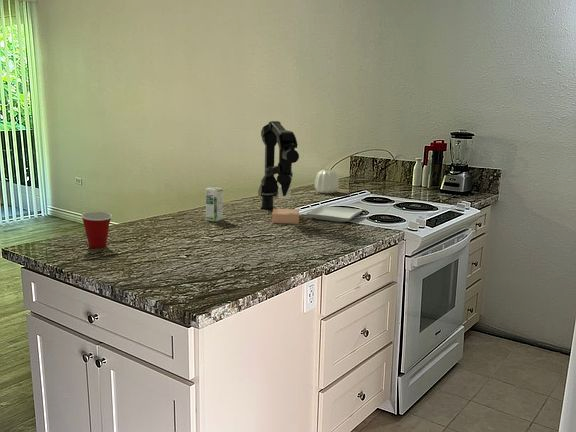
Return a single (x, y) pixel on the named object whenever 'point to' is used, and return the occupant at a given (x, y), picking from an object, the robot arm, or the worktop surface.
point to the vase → (326, 181)
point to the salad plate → (333, 213)
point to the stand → (285, 216)
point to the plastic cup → (96, 228)
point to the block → (282, 193)
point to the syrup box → (214, 204)
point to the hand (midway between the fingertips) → (284, 195)
